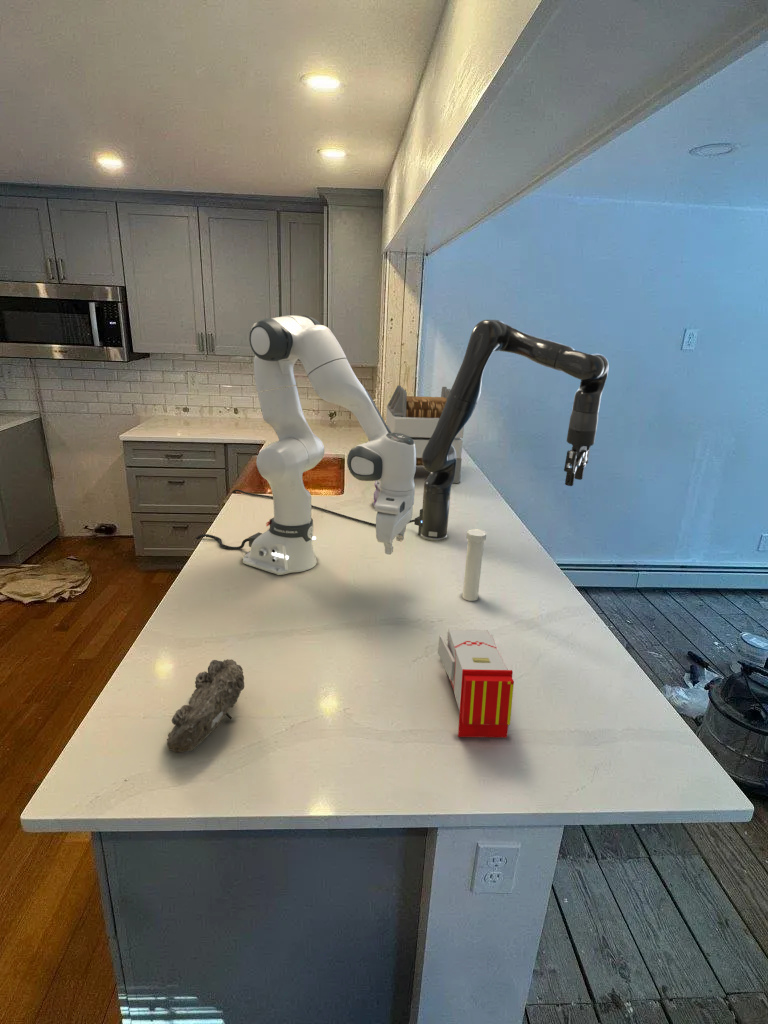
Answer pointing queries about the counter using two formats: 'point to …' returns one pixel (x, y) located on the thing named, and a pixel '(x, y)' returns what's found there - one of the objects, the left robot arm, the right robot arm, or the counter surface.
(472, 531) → the lid
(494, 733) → the toy
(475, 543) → the slender white bottle
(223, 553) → the counter surface
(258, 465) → the left robot arm
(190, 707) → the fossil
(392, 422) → the grey boxy piece
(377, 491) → the figurine
